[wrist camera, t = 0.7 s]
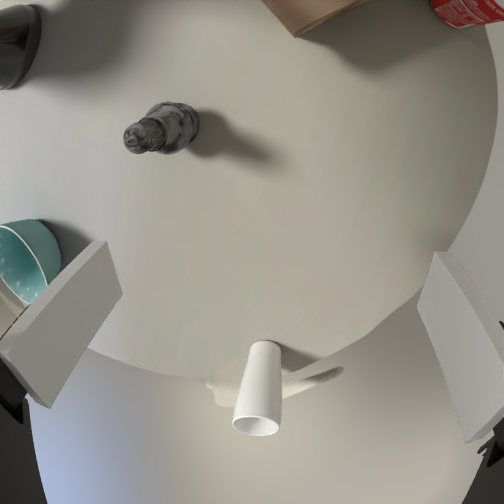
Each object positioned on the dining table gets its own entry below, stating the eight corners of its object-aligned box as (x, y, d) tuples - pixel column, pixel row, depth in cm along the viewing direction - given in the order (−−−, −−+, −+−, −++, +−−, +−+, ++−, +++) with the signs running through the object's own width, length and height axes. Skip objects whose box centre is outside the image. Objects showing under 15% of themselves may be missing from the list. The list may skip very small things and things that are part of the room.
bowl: (68, 294, 49) (45, 321, 42) (15, 251, 46) (-10, 273, 39) (82, 235, 41) (52, 263, 34) (21, 189, 38) (-11, 208, 31)
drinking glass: (247, 332, 47) (232, 412, 34) (289, 338, 46) (284, 419, 33) (244, 358, 50) (230, 432, 37) (282, 363, 50) (276, 438, 37)
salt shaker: (180, 90, 30) (128, 92, 19) (212, 126, 31) (173, 144, 21) (146, 123, 32) (88, 142, 22) (176, 158, 34) (128, 189, 23)
